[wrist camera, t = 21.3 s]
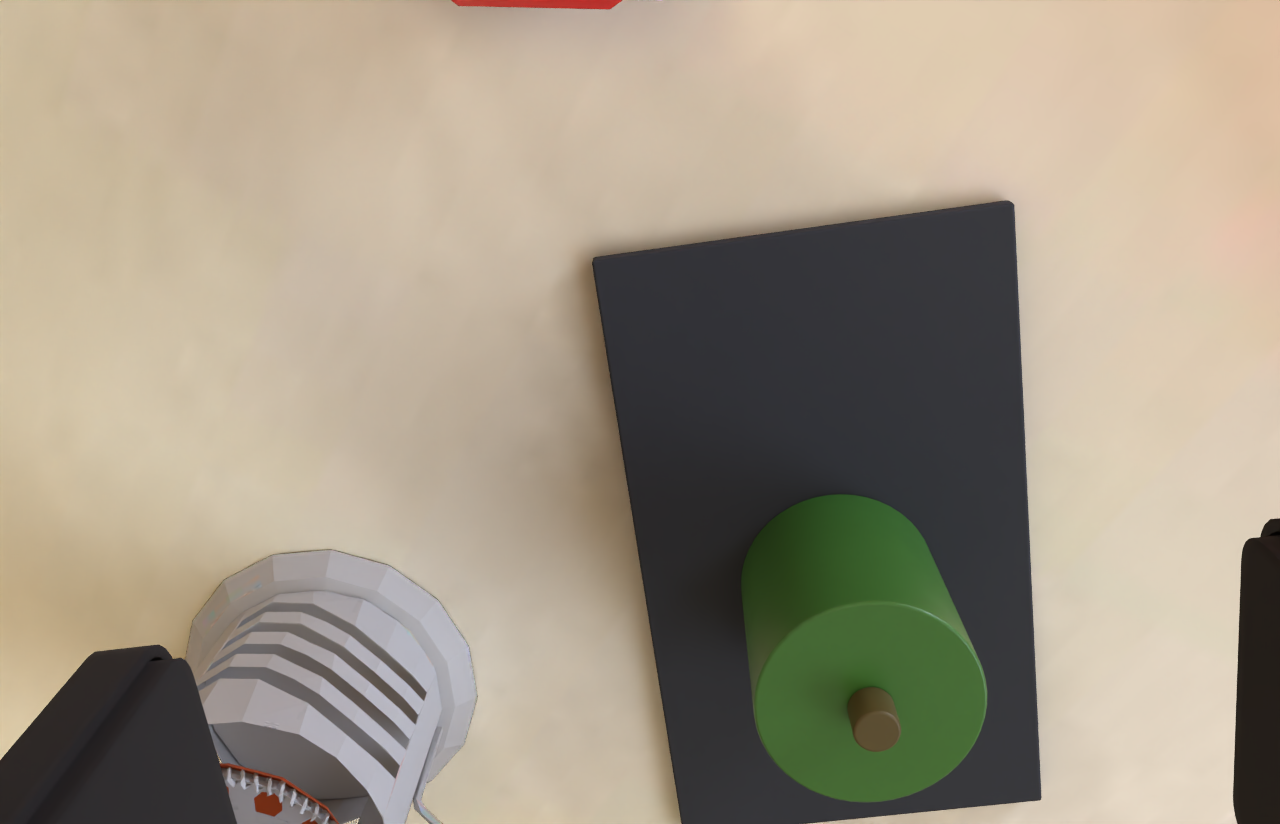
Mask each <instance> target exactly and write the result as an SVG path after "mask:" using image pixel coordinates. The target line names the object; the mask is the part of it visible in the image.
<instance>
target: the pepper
mask: <svg viewBox="0 0 1280 824" xmlns="http://www.w3.org/2000/svg"><path fill="white" fill-rule="evenodd" d="M741 594H742V604H743V613H744V623H745V633H746V642H747V652H748V662H749V672H750V681H751V691H752V701H753V710H754V718H755V723H756V728H757V731H758V734H759V736H760V739H761V742H762V743H763V745H764V747H765V749H766V751H767V753H768V754H769V755H770V757H771V758H772V759H773V761H774V762H775V763H776V764H777V765H778V766H779V767H780V768H781V769H782V770H783V771H784V772H785V773H786V774H787V775H788V776H790V777H791V778H792V779H793V780H795V781H796V782H797V783H799V784H801V785H803V786H804V787H806V788H808V789H810V790H812V791H814V792H817V793H819V794H821V795H824V796H828V797H831V798H834V799H839V800H844V801H850V802H881V801H888V800H894V799H898V798H901V797H905V796H909V795H911V794H914V793H916V792H919V791H921V790H923V789H925V788H927V787H929V786H931V785H933V784H935V783H936V782H938V781H939V780H941V779H942V778H944V777H945V776H946V775H948V774H949V773H950V772H951V771H952V770H953V769H954V768H956V767H957V766H958V765H959V763H960V762H961V761H962V760H963V759H964V758H965V757H966V756H967V754H968V753H969V751H970V750H971V748H972V747H973V745H974V744H975V742H976V739H977V737H978V735H979V733H980V731H981V728H982V725H983V722H984V719H985V714H986V708H987V686H986V679H985V675H984V672H983V669H982V665H981V663H980V661H979V659H978V656H977V654H976V652H975V650H974V648H973V645H972V643H971V641H970V639H969V637H968V634H967V632H966V630H965V628H964V625H963V623H962V621H961V619H960V617H959V614H958V612H957V610H956V608H955V606H954V603H953V601H952V599H951V597H950V594H949V592H948V590H947V588H946V586H945V583H944V581H943V579H942V577H941V575H940V572H939V570H938V568H937V566H936V564H935V561H934V559H933V557H932V555H931V552H930V550H929V548H928V546H927V544H926V542H925V540H924V538H923V537H922V535H921V534H920V532H919V531H918V529H917V528H916V527H915V526H914V525H913V524H912V523H911V521H910V520H908V519H907V518H906V517H905V516H904V515H902V514H901V513H900V512H898V511H897V510H895V509H894V508H892V507H890V506H888V505H886V504H884V503H882V502H880V501H877V500H874V499H870V498H867V497H862V496H857V495H846V494H836V495H825V496H820V497H815V498H812V499H808V500H805V501H802V502H800V503H798V504H796V505H793V506H791V507H790V508H788V509H786V510H785V511H783V512H781V513H780V514H778V515H777V516H776V517H775V518H773V519H772V520H771V521H770V522H769V523H768V524H767V525H766V526H765V527H764V528H763V529H762V530H761V531H760V533H759V534H758V535H757V537H756V538H755V539H754V541H753V543H752V545H751V546H750V548H749V550H748V553H747V555H746V558H745V561H744V565H743V569H742V576H741Z"/></svg>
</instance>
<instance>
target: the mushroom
mask: <svg viewBox="0 0 1280 824" xmlns="http://www.w3.org/2000/svg"><path fill="white" fill-rule="evenodd" d="M452 1H453V2H454V3H455V4H457V5H458V6H486V7H531V8H576V9H611V8H612V7H614V6H615V5H617V4H618V3H619V2H621V1H622V0H452ZM658 1H662V0H658Z"/></svg>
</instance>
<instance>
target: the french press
mask: <svg viewBox="0 0 1280 824" xmlns="http://www.w3.org/2000/svg"><path fill="white" fill-rule="evenodd" d="M185 660H186V661H187V663H188V664H189V666H190V667H191V670H192V672H193V675H194V678H195V681H196V685H197V688H198V692H199V695H200V699H201V702H202V705H203V709H204V712H205V716H206V719H207V722H208V726H209V729H210V733H211V736H212V739H213V743H214V746H215V750H216V753H217V754H218V756H219V758H220V760H221V762H222V764H220V767H221V770H222V773H223V777H224V780H225V784H226V787H227V791H228V794H229V797H230V801H231V804H232V808H233V811H234V814H235V818H236V821H237V824H344V823H347V822H349V821H352V820H354V819H357V818H359V817H360V819H359V822H358V824H405V822H406V819H407V816H408V813H409V810H410V807H411V803H412V800H413V803H414V809H415V810H416V811H417V812H418V813H419V814H420V815H421V816H422V817H423V818H424V819H425V820H426V821H427V822H428V823H429V824H443V823H442V822H441V821H440V820H439V819H437V818H436V817H435V816H434V815H433V814H432V813H431V812H430V811H429V810H428V809H427V808H426V807H425V806H424V804H423V803H422V801H421V798H422V795H423V792H424V789H425V786H426V783H428V782H430V781H432V780H433V779H434V777H435V776H436V775H437V774H438V773H439V772H440V771H441V770H442V769H443V767H444V766H445V765H446V764H447V763H448V762H449V761H450V760H451V758H452V757H453V756H454V755H455V754H456V753H457V752H458V751H459V749H460V748H461V747H462V746H463V745H464V743H465V739H466V736H467V732H468V729H469V725H470V722H471V718H472V715H473V711H474V708H475V704H476V701H477V697H478V696H477V691H476V685H475V679H474V674H473V668H472V662H471V657H470V651H469V646H468V644H467V643H466V641H465V640H464V638H463V637H462V635H461V634H460V632H459V631H458V629H457V628H456V626H455V625H454V623H453V622H452V620H451V619H450V617H449V616H448V614H447V613H446V611H445V610H444V608H443V607H442V605H441V604H440V602H439V601H438V600H437V599H436V598H435V597H433V596H432V595H430V594H429V593H427V592H426V591H425V590H423V589H422V588H420V587H419V586H418V585H416V584H415V583H413V582H412V581H410V580H409V579H408V578H406V577H405V576H403V575H402V574H401V573H399V572H398V571H396V570H395V569H393V568H392V567H391V566H389V565H385V564H382V563H378V562H374V561H371V560H367V559H363V558H360V557H356V556H352V555H349V554H345V553H341V552H338V551H334V550H321V551H310V552H299V553H287V554H276V555H271V556H269V557H267V558H265V559H263V560H262V561H260V562H258V563H256V564H254V565H252V566H250V567H248V568H246V569H244V570H242V571H240V572H238V573H236V574H235V575H233V576H231V577H229V578H227V579H225V580H223V582H222V583H221V584H220V586H219V587H218V588H217V590H216V591H215V592H214V594H213V595H212V596H211V597H210V599H209V600H208V601H207V603H206V604H205V605H204V607H203V608H202V609H201V610H200V612H199V613H198V614H197V616H196V617H195V618H194V620H193V622H192V627H191V632H190V637H189V643H188V648H187V653H186V658H185Z"/></svg>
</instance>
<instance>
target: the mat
mask: <svg viewBox="0 0 1280 824" xmlns="http://www.w3.org/2000/svg"><path fill="white" fill-rule="evenodd" d="M592 266H593V272H594V278H595V284H596V291H597V297H598V303H599V309H600V316H601V322H602V328H603V334H604V341H605V347H606V353H607V360H608V366H609V372H610V378H611V385H612V391H613V397H614V403H615V410H616V416H617V422H618V428H619V435H620V441H621V447H622V453H623V460H624V466H625V472H626V478H627V485H628V491H629V497H630V504H631V510H632V516H633V522H634V529H635V535H636V541H637V547H638V554H639V560H640V566H641V572H642V579H643V585H644V591H645V597H646V604H647V610H648V616H649V623H650V629H651V635H652V641H653V648H654V654H655V660H656V666H657V673H658V679H659V685H660V691H661V698H662V704H663V710H664V716H665V723H666V729H667V735H668V741H669V748H670V754H671V760H672V767H673V773H674V779H675V785H676V792H677V798H678V804H679V810H680V817H681V823H682V824H807V823H817V822H827V821H837V820H847V819H857V818H867V817H877V816H887V815H897V814H907V813H917V812H927V811H937V810H947V809H957V808H967V807H977V806H987V805H997V804H1007V803H1017V802H1027V801H1037V800H1041V780H1040V759H1039V737H1038V715H1037V693H1036V671H1035V649H1034V627H1033V605H1032V584H1031V562H1030V540H1029V518H1028V496H1027V474H1026V452H1025V431H1024V409H1023V387H1022V365H1021V343H1020V321H1019V299H1018V278H1017V256H1016V234H1015V212H1014V204H1013V203H1012V202H1010V201H1000V202H993V203H986V204H978V205H971V206H964V207H956V208H949V209H942V210H935V211H927V212H920V213H913V214H905V215H898V216H891V217H884V218H876V219H869V220H862V221H854V222H847V223H840V224H833V225H825V226H818V227H811V228H804V229H796V230H789V231H782V232H774V233H767V234H760V235H753V236H745V237H738V238H731V239H723V240H716V241H709V242H702V243H694V244H687V245H680V246H672V247H665V248H658V249H651V250H643V251H636V252H629V253H621V254H614V255H607V256H600V257H595V258H593V262H592ZM836 494H846V495H857V496H862V497H867V498H870V499H874V500H877V501H880V502H882V503H884V504H886V505H888V506H890V507H892V508H894V509H895V510H897V511H898V512H900V513H901V514H902V515H904V516H905V517H906V518H907V519H908V520H910V521H911V523H912V524H913V525H914V526H915V527H916V528H917V529H918V531H919V532H920V534H921V535H922V537H923V538H924V540H925V542H926V544H927V546H928V548H929V550H930V552H931V555H932V557H933V559H934V561H935V564H936V566H937V568H938V570H939V572H940V575H941V577H942V579H943V581H944V583H945V586H946V588H947V590H948V592H949V594H950V597H951V599H952V601H953V603H954V606H955V608H956V610H957V612H958V614H959V617H960V619H961V621H962V623H963V625H964V628H965V630H966V632H967V634H968V637H969V639H970V641H971V643H972V645H973V648H974V650H975V652H976V654H977V656H978V659H979V661H980V663H981V665H982V669H983V672H984V675H985V679H986V686H987V708H986V714H985V719H984V722H983V725H982V728H981V731H980V733H979V735H978V737H977V739H976V742H975V744H974V745H973V747H972V748H971V750H970V751H969V753H968V754H967V756H966V757H965V758H964V759H963V760H962V761H961V762H960V763H959V765H958V766H957V767H956V768H954V769H953V770H952V771H951V772H950V773H949V774H948V775H946V776H945V777H944V778H942V779H941V780H939V781H938V782H936V783H935V784H933V785H931V786H929V787H927V788H925V789H923V790H921V791H919V792H916V793H914V794H911V795H909V796H905V797H901V798H898V799H894V800H888V801H881V802H850V801H844V800H839V799H834V798H831V797H828V796H824V795H821V794H819V793H817V792H814V791H812V790H810V789H808V788H806V787H804V786H803V785H801V784H799V783H797V782H796V781H795V780H793V779H792V778H791V777H790V776H788V775H787V774H786V773H785V772H784V771H783V770H782V769H781V768H780V767H779V766H778V765H777V764H776V763H775V762H774V761H773V759H772V758H771V757H770V755H769V754H768V753H767V751H766V749H765V747H764V745H763V743H762V742H761V739H760V736H759V734H758V731H757V728H756V723H755V718H754V710H753V701H752V691H751V681H750V672H749V662H748V652H747V642H746V633H745V623H744V613H743V604H742V594H741V576H742V569H743V565H744V561H745V558H746V555H747V553H748V550H749V548H750V546H751V545H752V543H753V541H754V539H755V538H756V537H757V535H758V534H759V533H760V531H761V530H762V529H763V528H764V527H765V526H766V525H767V524H768V523H769V522H770V521H771V520H772V519H773V518H775V517H776V516H777V515H778V514H780V513H781V512H783V511H785V510H786V509H788V508H790V507H791V506H793V505H796V504H798V503H800V502H802V501H805V500H808V499H812V498H815V497H820V496H825V495H836Z"/></svg>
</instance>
